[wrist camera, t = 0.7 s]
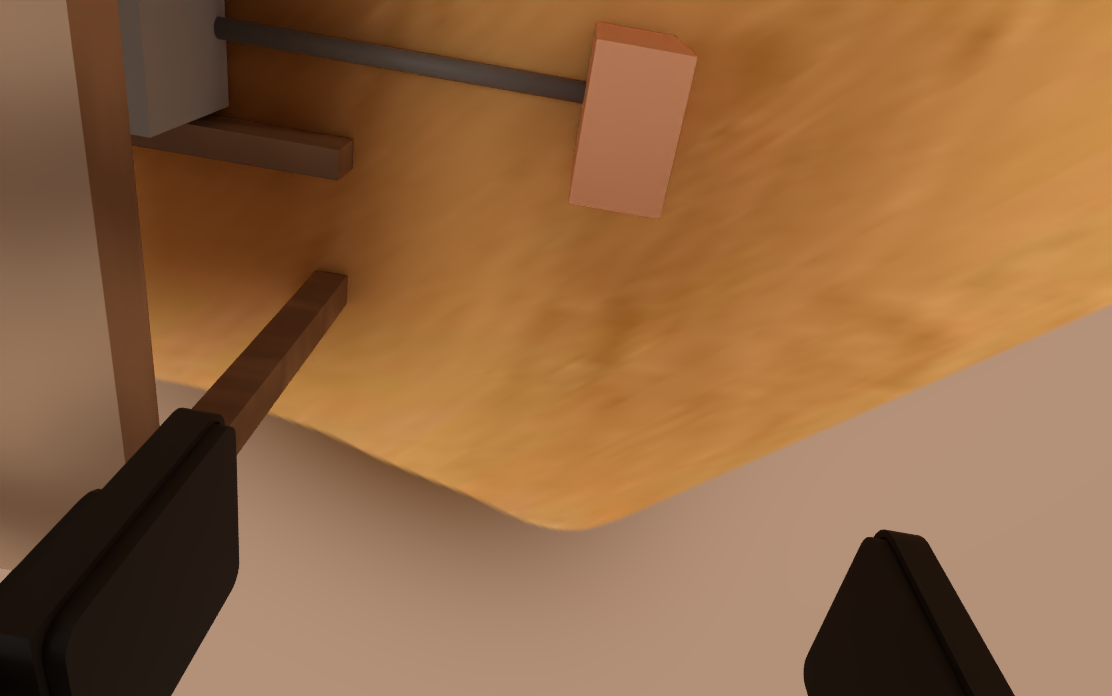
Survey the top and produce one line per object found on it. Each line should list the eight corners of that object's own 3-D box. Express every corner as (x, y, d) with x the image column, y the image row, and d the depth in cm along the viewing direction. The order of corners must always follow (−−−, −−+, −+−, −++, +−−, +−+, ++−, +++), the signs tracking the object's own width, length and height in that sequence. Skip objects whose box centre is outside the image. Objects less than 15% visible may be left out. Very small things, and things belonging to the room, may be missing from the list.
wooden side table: (-28, -390, 24) (-1206, -1053, 8) (370, -313, 24) (-38, -806, 9) (68, 257, 34) (-379, 510, 18) (347, 304, 34) (141, 589, 19)
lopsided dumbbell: (56, -92, 27) (-103, -107, 21) (678, 21, 28) (702, 38, 22) (78, 80, 30) (-57, 111, 24) (644, 178, 31) (656, 234, 25)
